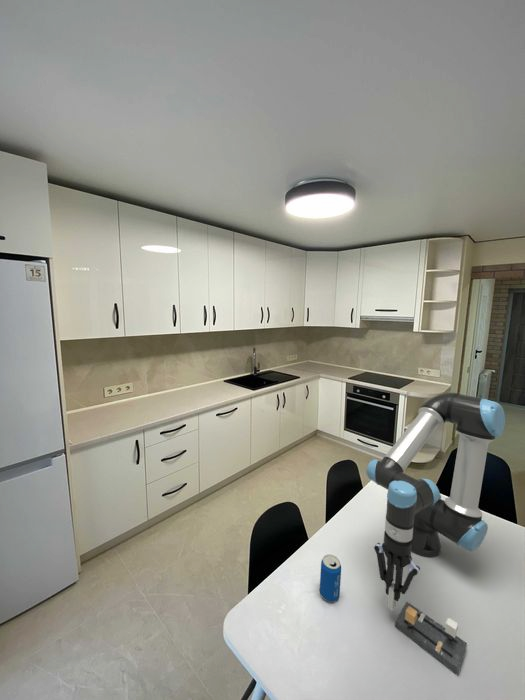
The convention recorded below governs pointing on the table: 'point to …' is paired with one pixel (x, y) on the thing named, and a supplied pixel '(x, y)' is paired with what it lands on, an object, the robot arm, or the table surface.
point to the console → (433, 639)
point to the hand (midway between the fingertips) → (391, 606)
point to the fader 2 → (451, 628)
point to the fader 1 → (411, 616)
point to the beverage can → (330, 578)
